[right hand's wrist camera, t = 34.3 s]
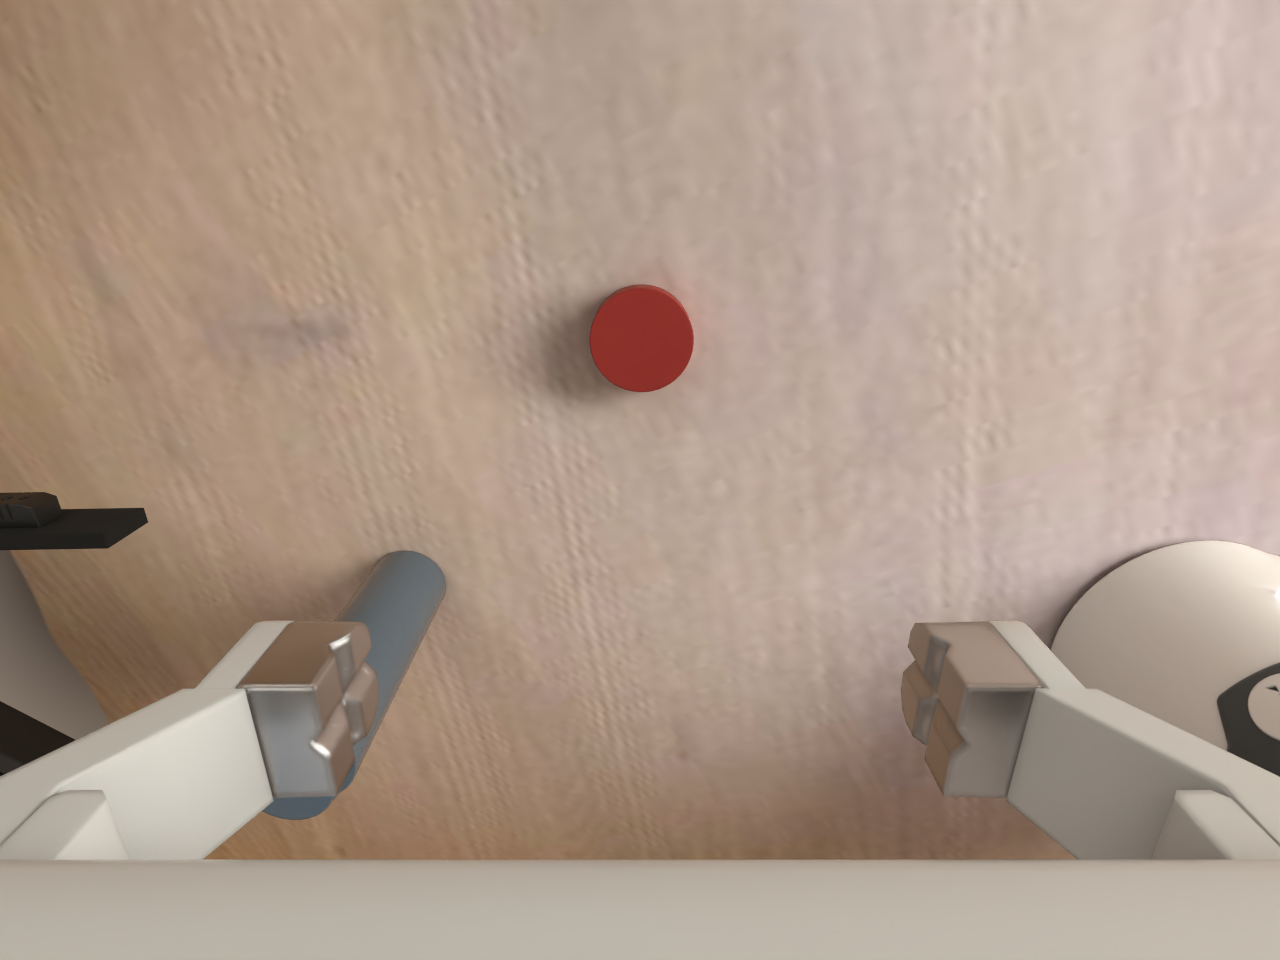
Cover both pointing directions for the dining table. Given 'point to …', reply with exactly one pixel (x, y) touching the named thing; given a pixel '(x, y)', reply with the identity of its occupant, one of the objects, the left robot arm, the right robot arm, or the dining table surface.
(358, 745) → the jar
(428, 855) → the dining table surface
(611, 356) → the lid
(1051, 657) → the right robot arm
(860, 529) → the dining table surface
